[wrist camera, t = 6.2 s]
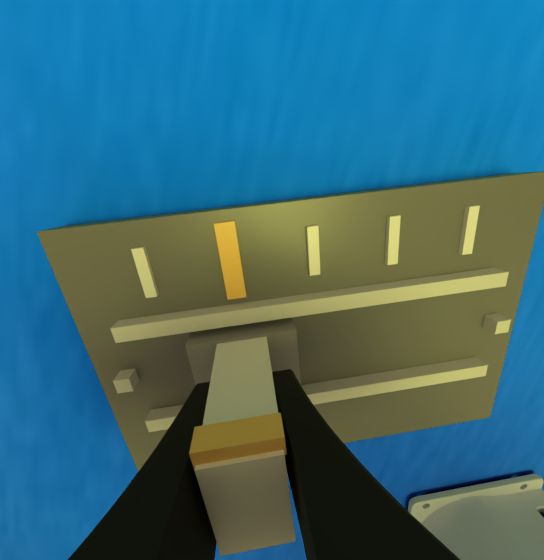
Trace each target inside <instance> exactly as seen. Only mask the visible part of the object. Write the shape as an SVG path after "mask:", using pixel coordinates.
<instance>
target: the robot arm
mask: <svg viewBox="0 0 544 560" xmlns="http://www.w3.org/2000/svg"><path fill="white" fill-rule="evenodd" d="M272 375H273V382H274V388H275V395H276V402H277V408H278V413H280V412H281V417H282V424H283V430H284V436H285V443H286V452H287V455H285V462H286V468H287V473H288V477H289V481H290V486H291V490H292V494H293V499H294V503H295V507H296V512H297V516H298V520H299V525H300V529H301V534H302V538H303V543H304V548H305V553H306V558H307V560H544V491H543V490H542V489H541V488H542V485H543V479H542V478H541V477H540V476H539V475H538V474H529V475H524V476H519V477H514V478H508V479H503V480H498V481H493V482H488V483H483V484H477V485H472V486H467V487H462V488H457V489H452V490H447V491H441V492H436V493H431V494H426V495H421V496H416V497H413V498H411V499H410V501H409V505H408V511H407V510H406V509H405V508H404V507H403V506H402V505H401V504H400V503H399V502H398V501H397V500H396V499H395V498H394V497H393V496H392V495H391V494H390V493H389V492H388V491H387V490H386V489H385V488H384V487H383V486H382V485H381V484H380V483H379V482H378V481H377V480H376V479H375V478H374V477H373V476H372V475H371V473H370V472H369V471H368V470H367V469H366V468H365V467H364V466H363V465H362V464H361V463H360V462H359V461H358V459H357V458H356V457H355V456H354V455H353V454H352V453H351V451H350V450H349V449H348V448H347V447H346V446H345V444H344V443H343V442H342V441H341V440H340V438H339V437H338V436H337V435H336V434H335V432H334V431H333V430H332V429H331V427H330V426H329V425H328V424H327V422H326V421H325V420H324V418H323V417H322V416H321V414H320V413H319V412H318V410H317V409H316V408H315V406H314V405H313V403H312V402H311V400H310V399H309V397H308V396H307V394H306V393H305V391H304V390H303V388H302V387H301V385H300V383H299V381H298V380H297V378H296V376H295V374H294V372H293V371H292V370H291V369H287V370H281V371H274V372H272ZM209 385H210V382H205V383H198V384H197V385H196V386H195V387H194V389H193V390H192V392H191V394H190V395H189V397H188V398H187V400H186V402H185V403H184V405H183V407H182V408H181V410H180V411H179V413H178V415H177V416H176V418H175V419H174V421H173V422H172V424H171V425H170V427H169V428H168V430H167V431H166V433H165V434H164V436H163V437H162V439H161V440H160V442H159V443H158V445H157V446H156V448H155V449H154V451H153V452H152V454H151V455H150V456H149V458H148V459H147V461H146V462H145V463H144V465H143V466H142V467H141V469H140V470H139V472H138V473H137V474H136V476H135V477H134V479H133V480H132V481H131V483H130V484H129V485H128V487H127V488H126V489H125V491H124V492H123V493H122V494H121V496H120V497H119V498H118V500H117V501H116V502H115V503H114V505H113V506H112V507H111V509H110V510H109V511H108V512H107V514H106V515H105V516H104V517H103V518H102V520H101V521H100V522H99V523H98V525H97V526H96V527H95V528H94V530H93V531H92V532H91V533H90V534H89V536H88V537H87V538H86V539H85V540H84V542H83V543H82V544H81V545H80V546H79V547H78V548H77V550H76V551H75V552H74V553H73V554H72V555H71V557H70V558H69V559H68V560H214V559H215V550H216V538H215V535H214V532H213V529H212V525H211V522H210V519H209V516H208V512H207V509H206V506H205V503H204V500H203V496H202V493H201V490H200V487H199V484H198V480H197V477H196V474H195V471H194V468H193V465H192V461H191V458H190V455H189V451H190V447H191V442H192V437H193V432H194V428H195V427H197V426H202V425H203V419H204V414H205V408H206V402H207V397H208V391H209Z"/></svg>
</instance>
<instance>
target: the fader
mask: <svg viewBox="0 0 544 560" xmlns="http://www.w3.org/2000/svg"><path fill="white" fill-rule="evenodd" d="M185 347H186V351H187V355H188V358H189V362H190V366H191V370H192V373H193V377H194V381H195V385H197V384H198V383H205V382H210V385H209V391H208V397H207V402H206V408H205V414H204V419H203V425H202V426H197V427H195V428H194V432H193V437H192V442H191V447H190V451H189V455H190V458H191V461H192V465H193V468H194V471H195V474H196V477H197V480H198V484H199V487H200V490H201V493H202V496H203V500H204V503H205V506H206V509H207V512H208V516H209V519H210V522H211V525H212V529H213V532H214V535H215V538H216V541H217V545H218V548H219V551H220V554H221V556H224V555H229V554H234V553H239V552H244V551H249V550H254V549H259V548H265V547H270V546H275V545H280V544H285V543H290V542H295V541H296V540H295V532H294V524H293V517H292V509H291V501H290V493H289V485H288V478H287V470H286V462H285V455H287V452H286V443H285V436H284V430H283V424H282V417H281V412H280V413H278V408H277V402H276V395H275V388H274V382H273V375H272V372H274V371H281V370H287V369H291V370H292V371H293V372H294V374H295V376H296V378H297V380H298V381H299V383H300V385H301V380H300V368H299V356H298V345H297V333H296V328H295V325H294V322H293V320H292V317H291V318H284V319H277V320H271V321H264V322H257V323H250V324H243V325H236V326H229V327H223V328H216V329H209V330H202V331H195V332H190V335H189V337H188V340H187V343H186V345H185Z"/></svg>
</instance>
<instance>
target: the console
mask: <svg viewBox="0 0 544 560" xmlns="http://www.w3.org/2000/svg"><path fill="white" fill-rule="evenodd" d="M543 204H544V171H541V172H524V173H509V174H501V175H492V176H484V177H475V178H467V179H458V180H450V181H441V182H433V183H424V184H416V185H407V186H399V187H390V188H382V189H373V190H365V191H356V192H348V193H339V194H331V195H322V196H314V197H305V198H297V199H288V200H280V201H271V202H263V203H254V204H246V205H237V206H229V207H220V208H212V209H203V210H195V211H186V212H178V213H169V214H161V215H152V216H144V217H135V218H127V219H118V220H110V221H101V222H93V223H84V224H76V225H67V226H62V227H57V228H53V229H48V230H43V231H38V232H37V234H38V236H39V239H40V241H41V243H42V246H43V248H44V250H45V253H46V255H47V258H48V260H49V262H50V265H51V267H52V269H53V272H54V274H55V276H56V279H57V281H58V284H59V286H60V288H61V291H62V293H63V295H64V298H65V300H66V302H67V305H68V307H69V309H70V312H71V314H72V317H73V319H74V321H75V324H76V326H77V328H78V331H79V333H80V335H81V338H82V340H83V343H84V345H85V347H86V350H87V352H88V354H89V357H90V359H91V361H92V364H93V366H94V369H95V371H96V373H97V376H98V378H99V380H100V383H101V385H102V387H103V390H104V392H105V394H106V397H107V399H108V402H109V404H110V406H111V409H112V411H113V413H114V416H115V418H116V420H117V423H118V425H119V428H120V430H121V432H122V435H123V437H124V439H125V442H126V444H127V446H128V449H129V451H130V454H131V456H132V458H133V461H134V463H135V465H136V468H137V470H138V472H139V470H140V469H141V467H142V466H143V465H144V463H145V462H146V461H147V459H148V458H149V456H150V455H151V454H152V452H153V451H154V449H155V448H156V446H157V445H158V443H159V442H160V440H161V439H162V437H163V436H164V434H165V433H166V431H167V430H168V428H169V427H170V425H171V424H172V422H173V421H174V419H175V418H176V416H177V415H178V413H179V411H180V410H181V408H182V407H183V405H184V403H185V402H186V400H187V398H188V397H189V395H190V394H191V392H192V390H193V389H194V387H195V386H196V385H195V381H194V377H193V373H192V370H191V366H190V362H189V358H188V355H187V351H186V347H185V345H186V343H187V340H188V337H189V335H190V332H195V331H202V330H209V329H216V328H223V327H229V326H236V325H243V324H250V323H257V322H264V321H271V320H277V319H284V318H291V317H292V320H293V322H294V325H295V328H296V333H297V345H298V356H299V368H300V380H301V387H302V388H303V390H304V391H305V393H306V394H307V396H308V397H309V399H310V400H311V402H312V403H313V405H314V406H315V408H316V409H317V410H318V412H319V413H320V414H321V416H322V417H323V418H324V420H325V421H326V422H327V424H328V425H329V426H330V427H331V429H332V430H333V431H334V432H335V434H336V435H337V436H338V437H339V438H340V440H341V441H342V442H343V443H348V442H353V441H359V440H365V439H370V438H376V437H382V436H387V435H393V434H398V433H404V432H410V431H415V430H421V429H427V428H432V427H438V426H443V425H449V424H455V423H460V422H466V421H472V420H477V419H483V418H488V417H490V416H491V412H492V408H493V404H494V400H495V396H496V392H497V388H498V384H499V380H500V376H501V372H502V368H503V364H504V360H505V356H506V352H507V348H508V344H509V340H510V336H511V332H512V328H513V324H514V320H515V316H516V312H517V308H518V304H519V300H520V296H521V292H522V288H523V284H524V280H525V276H526V272H527V268H528V264H529V260H530V256H531V252H532V248H533V244H534V240H535V236H536V232H537V228H538V224H539V220H540V216H541V212H542V208H543Z"/></svg>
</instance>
